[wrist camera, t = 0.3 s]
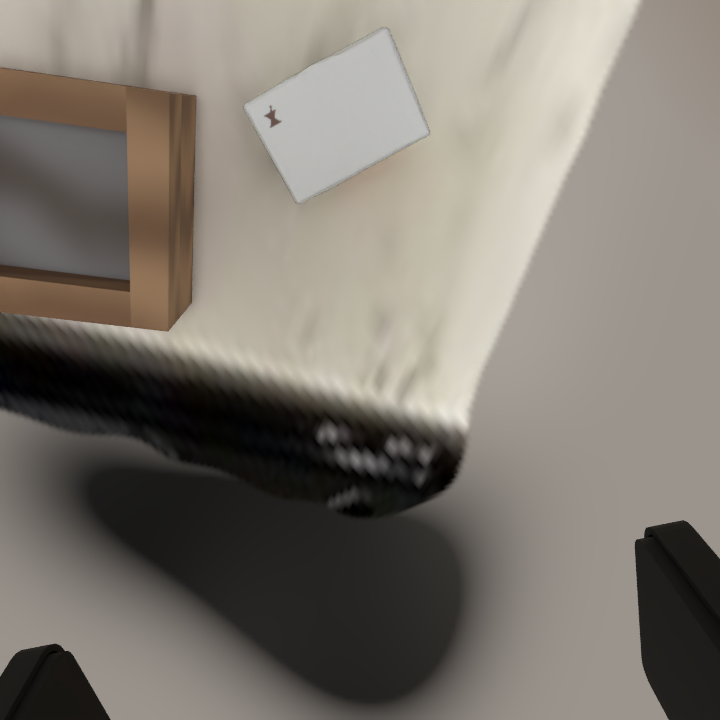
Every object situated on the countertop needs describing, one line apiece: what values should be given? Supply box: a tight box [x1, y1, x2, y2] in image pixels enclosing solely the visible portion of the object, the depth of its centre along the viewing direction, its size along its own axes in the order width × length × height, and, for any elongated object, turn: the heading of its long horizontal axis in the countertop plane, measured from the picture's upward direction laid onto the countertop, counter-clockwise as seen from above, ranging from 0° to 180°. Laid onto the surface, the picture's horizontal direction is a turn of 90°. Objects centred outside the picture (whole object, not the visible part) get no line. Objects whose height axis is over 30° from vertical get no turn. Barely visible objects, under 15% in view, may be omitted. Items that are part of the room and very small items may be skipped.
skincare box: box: [243, 27, 430, 204], centre depth 27 cm, size 6×4×12 cm
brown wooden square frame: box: [0, 67, 196, 331], centre depth 31 cm, size 12×12×5 cm
